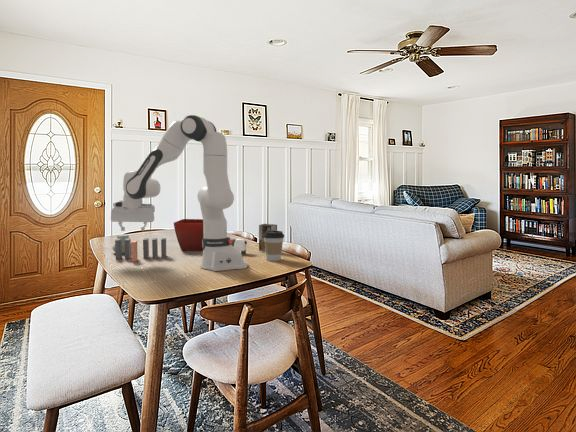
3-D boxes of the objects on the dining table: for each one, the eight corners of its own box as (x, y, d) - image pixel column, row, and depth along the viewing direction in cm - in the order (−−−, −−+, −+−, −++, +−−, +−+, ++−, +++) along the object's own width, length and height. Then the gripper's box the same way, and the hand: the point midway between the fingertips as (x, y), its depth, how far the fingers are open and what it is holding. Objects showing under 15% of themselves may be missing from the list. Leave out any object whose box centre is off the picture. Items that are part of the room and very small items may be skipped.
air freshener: (114, 255, 196) (114, 237, 195) (111, 252, 202) (110, 235, 201) (135, 252, 203) (135, 235, 202) (131, 250, 209) (131, 233, 208)
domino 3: (137, 259, 186) (137, 240, 185) (135, 261, 181) (135, 242, 180) (133, 259, 186) (132, 240, 185) (131, 261, 181) (131, 242, 180)
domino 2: (131, 256, 192) (130, 238, 191) (129, 259, 187) (128, 240, 186) (127, 257, 192) (126, 238, 190) (125, 259, 187) (124, 240, 186)
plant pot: (206, 252, 208) (206, 223, 206) (173, 251, 208) (173, 222, 206) (213, 245, 227) (213, 219, 225) (183, 245, 227) (183, 218, 225)
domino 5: (157, 256, 195) (157, 237, 194) (156, 258, 190) (156, 239, 189) (153, 256, 194) (153, 238, 193) (152, 258, 190) (152, 239, 189)
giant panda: (248, 253, 206) (248, 236, 205) (245, 255, 200) (245, 238, 200) (223, 252, 208) (223, 235, 207) (220, 254, 203) (220, 237, 202)
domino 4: (148, 256, 194) (148, 238, 193) (147, 258, 189) (147, 239, 188) (145, 256, 194) (144, 238, 192) (143, 258, 189) (143, 239, 188)
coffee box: (277, 251, 211) (277, 224, 210) (271, 253, 206) (271, 225, 204) (264, 249, 216) (265, 223, 214) (258, 251, 211) (258, 224, 209)
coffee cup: (288, 259, 190) (289, 231, 189) (273, 263, 182) (273, 234, 180) (273, 256, 198) (273, 229, 196) (258, 259, 190) (258, 231, 188)
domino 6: (166, 255, 196) (166, 237, 195) (165, 257, 191) (165, 239, 190) (162, 255, 196) (162, 237, 194) (161, 257, 191) (161, 239, 190)
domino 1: (122, 257, 191) (121, 238, 190) (119, 259, 186) (119, 240, 185) (117, 257, 190) (117, 238, 189) (115, 259, 186) (115, 240, 185)
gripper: (155, 203, 186) (155, 230, 187) (112, 202, 181) (113, 229, 183) (153, 204, 180) (153, 231, 181) (109, 203, 175) (109, 231, 176)
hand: (133, 230), depth 182 cm, fingers open, 8 cm apart
